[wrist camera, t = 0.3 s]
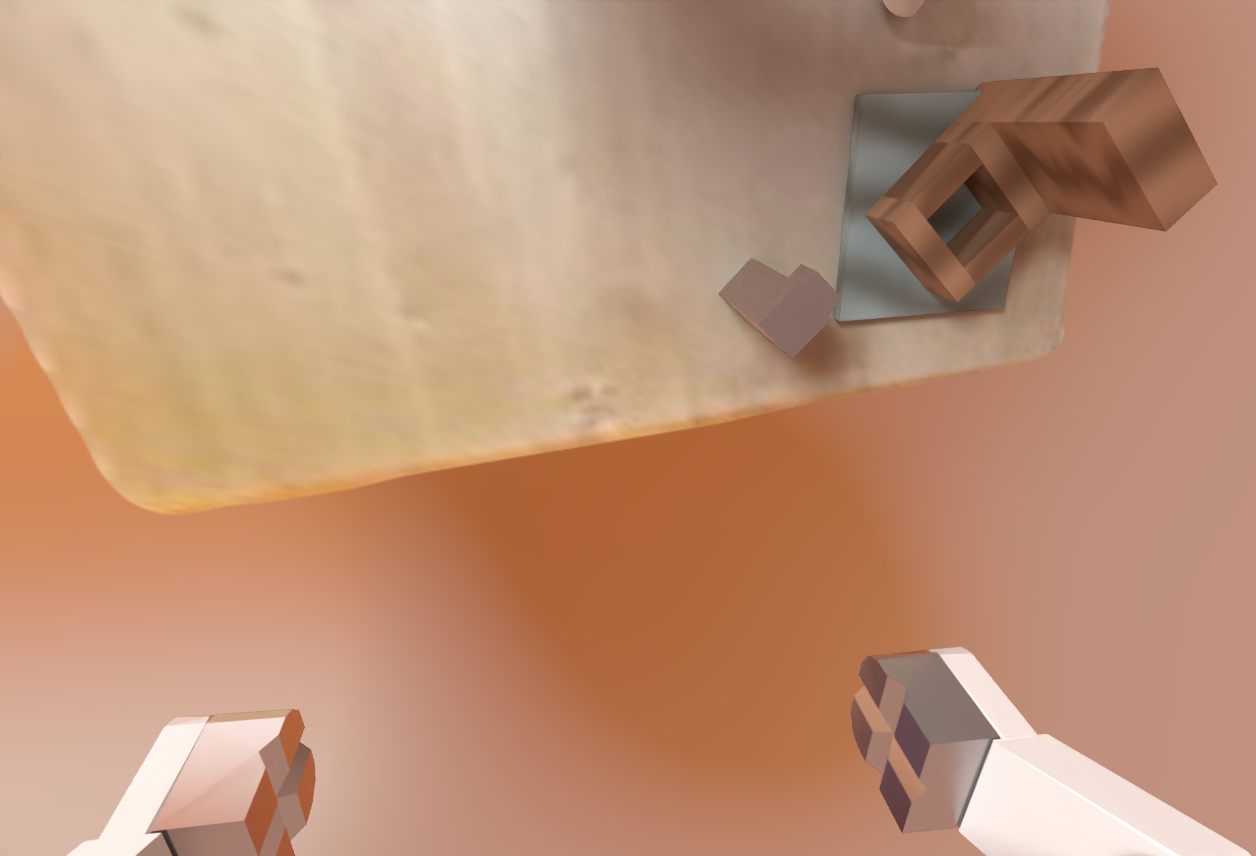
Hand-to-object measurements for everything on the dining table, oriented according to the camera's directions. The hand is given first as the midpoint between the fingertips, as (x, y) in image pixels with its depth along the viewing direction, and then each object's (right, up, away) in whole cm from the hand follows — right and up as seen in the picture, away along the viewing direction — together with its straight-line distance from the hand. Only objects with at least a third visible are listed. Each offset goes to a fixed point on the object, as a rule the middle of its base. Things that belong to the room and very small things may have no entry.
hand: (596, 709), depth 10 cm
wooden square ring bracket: (+27, +23, +48) cm, 59 cm away
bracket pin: (+11, +16, +48) cm, 52 cm away
